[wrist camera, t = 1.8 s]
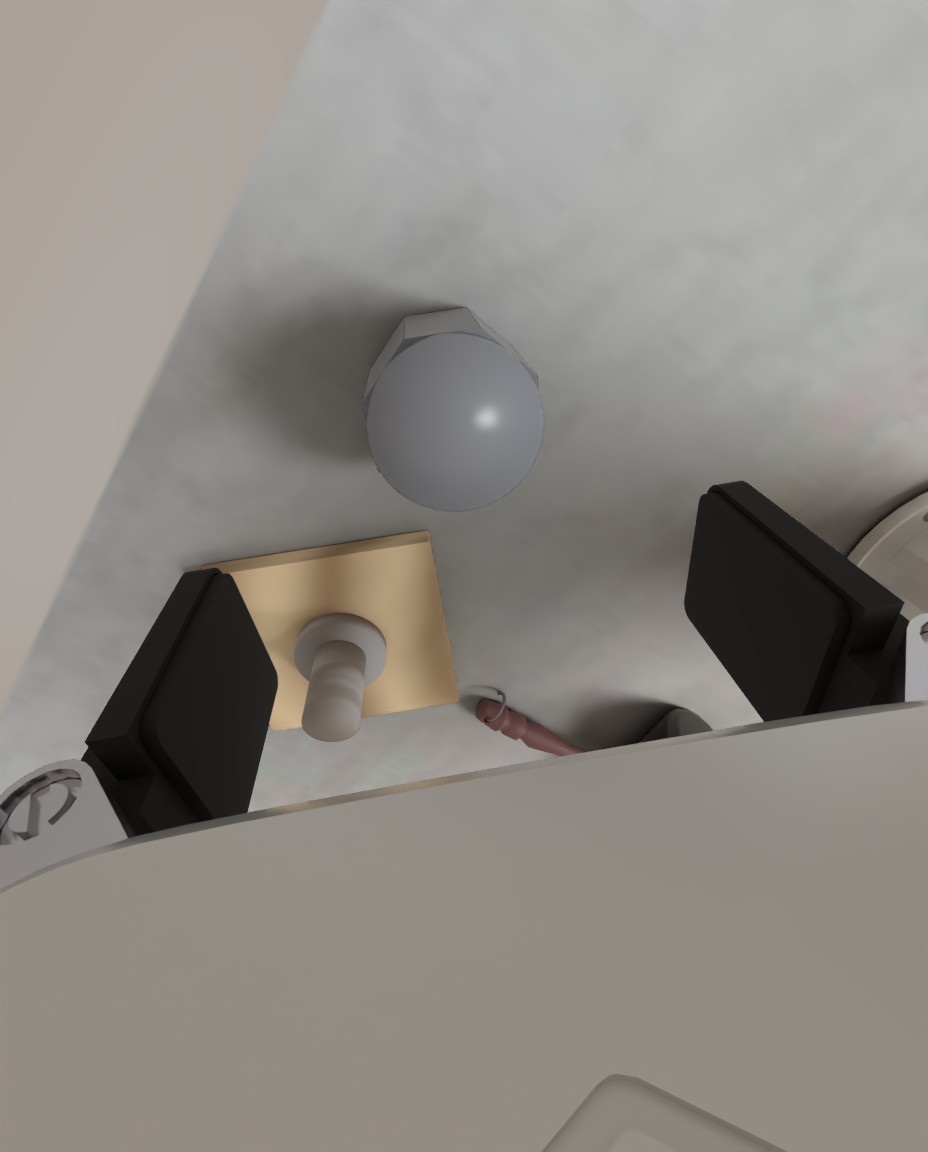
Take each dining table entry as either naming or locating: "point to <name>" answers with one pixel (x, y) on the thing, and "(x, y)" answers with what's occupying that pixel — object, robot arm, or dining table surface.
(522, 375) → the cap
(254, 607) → the plate with round knob
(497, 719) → the coffee pot
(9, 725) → the dining table surface
